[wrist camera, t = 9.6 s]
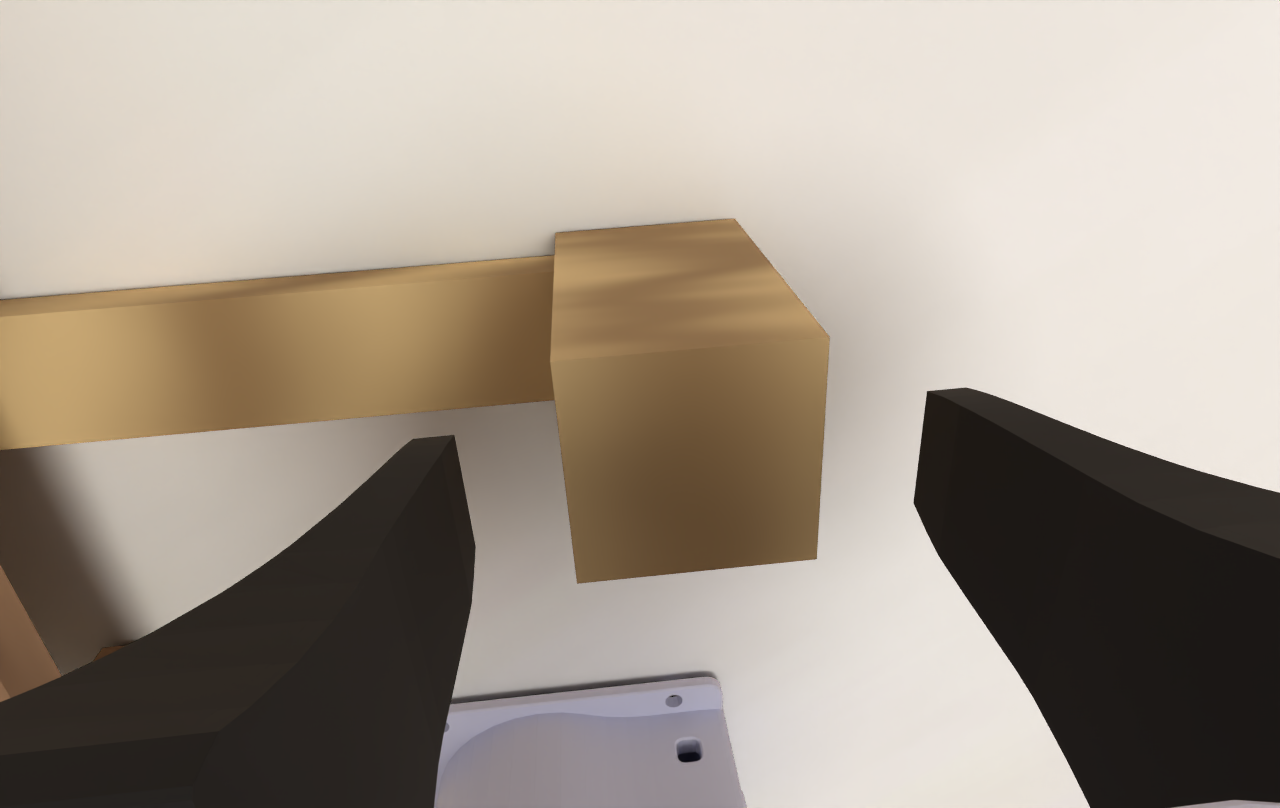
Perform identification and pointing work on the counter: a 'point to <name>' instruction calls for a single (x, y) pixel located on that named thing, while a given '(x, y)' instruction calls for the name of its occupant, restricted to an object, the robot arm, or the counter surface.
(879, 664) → the counter surface
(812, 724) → the counter surface
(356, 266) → the counter surface
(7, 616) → the shelf
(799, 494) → the tool
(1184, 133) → the counter surface
